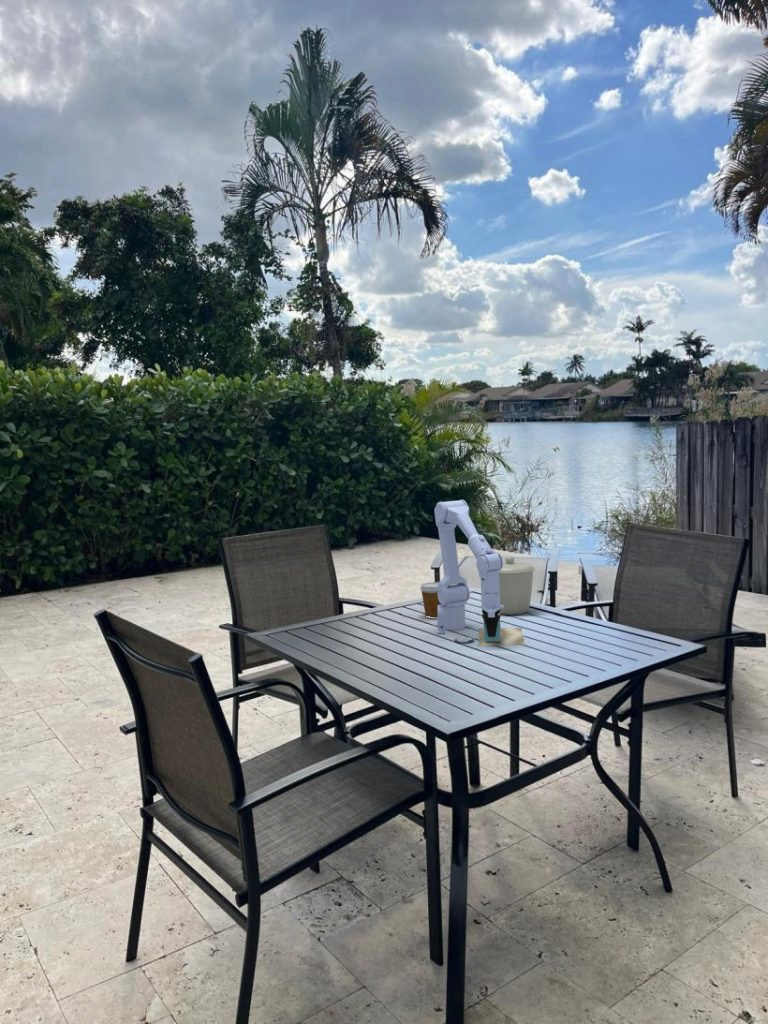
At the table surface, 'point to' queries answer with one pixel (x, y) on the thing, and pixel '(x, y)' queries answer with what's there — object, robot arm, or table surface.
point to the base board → (504, 637)
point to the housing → (492, 639)
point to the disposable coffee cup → (430, 598)
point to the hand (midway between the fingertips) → (491, 634)
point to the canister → (515, 586)
